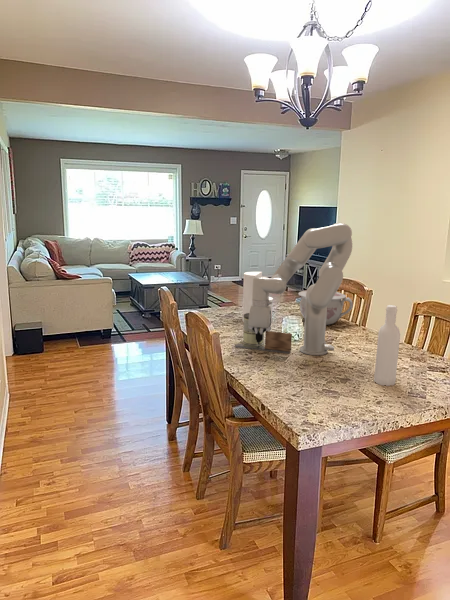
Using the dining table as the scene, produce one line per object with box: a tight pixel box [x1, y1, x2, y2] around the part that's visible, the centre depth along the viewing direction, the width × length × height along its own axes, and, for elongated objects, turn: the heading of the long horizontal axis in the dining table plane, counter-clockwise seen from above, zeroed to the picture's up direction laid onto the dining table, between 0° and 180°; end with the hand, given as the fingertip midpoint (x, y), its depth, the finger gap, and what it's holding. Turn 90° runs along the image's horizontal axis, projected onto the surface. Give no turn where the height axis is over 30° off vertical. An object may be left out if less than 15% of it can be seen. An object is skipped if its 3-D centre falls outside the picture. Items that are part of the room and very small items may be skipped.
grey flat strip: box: [235, 343, 291, 355], centre depth 209 cm, size 26×4×1 cm, turn 71°
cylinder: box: [241, 271, 274, 324], centre depth 259 cm, size 17×17×28 cm
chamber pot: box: [297, 289, 354, 326], centre depth 260 cm, size 28×28×21 cm
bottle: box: [373, 304, 401, 387], centre depth 169 cm, size 8×8×30 cm
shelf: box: [264, 330, 293, 353], centre depth 206 cm, size 12×3×8 cm, turn 71°
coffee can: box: [242, 313, 265, 346], centre depth 218 cm, size 10×10×14 cm
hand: (259, 341), depth 209 cm, fingers closed
